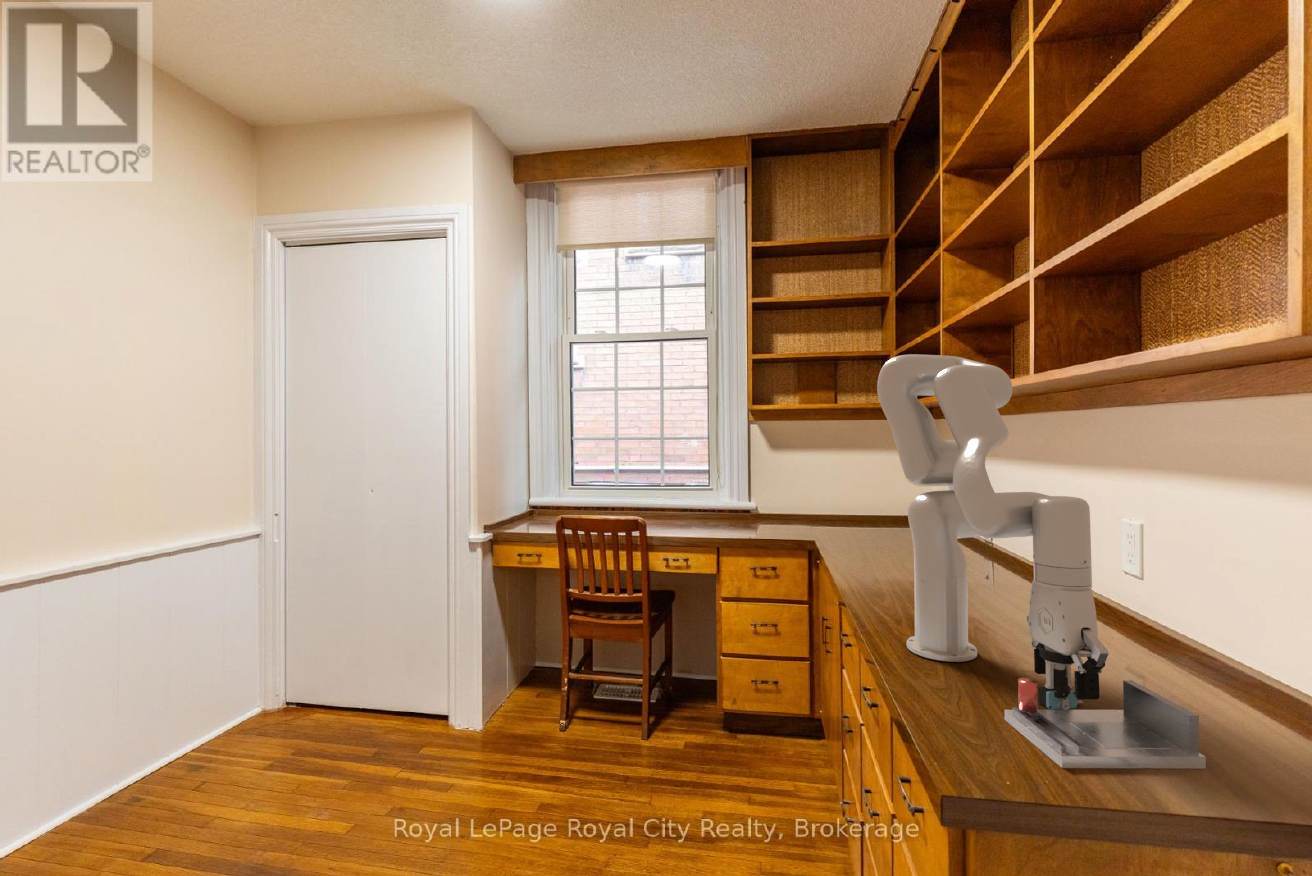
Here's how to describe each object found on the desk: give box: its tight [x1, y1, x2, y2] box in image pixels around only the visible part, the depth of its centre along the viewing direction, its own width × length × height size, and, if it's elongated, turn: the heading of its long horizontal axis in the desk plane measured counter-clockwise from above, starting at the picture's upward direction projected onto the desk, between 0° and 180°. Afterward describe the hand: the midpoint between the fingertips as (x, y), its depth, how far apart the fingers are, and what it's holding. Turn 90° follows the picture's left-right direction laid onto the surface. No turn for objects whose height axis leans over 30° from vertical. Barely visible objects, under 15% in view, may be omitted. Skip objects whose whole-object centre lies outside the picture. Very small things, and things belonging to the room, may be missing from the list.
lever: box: [1017, 677, 1039, 720], centre depth 86 cm, size 3×2×5 cm
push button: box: [1038, 644, 1084, 710], centre depth 93 cm, size 7×5×10 cm
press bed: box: [1004, 679, 1207, 770], centre depth 82 cm, size 13×18×6 cm
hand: (1065, 685), depth 92 cm, fingers open, 9 cm apart
